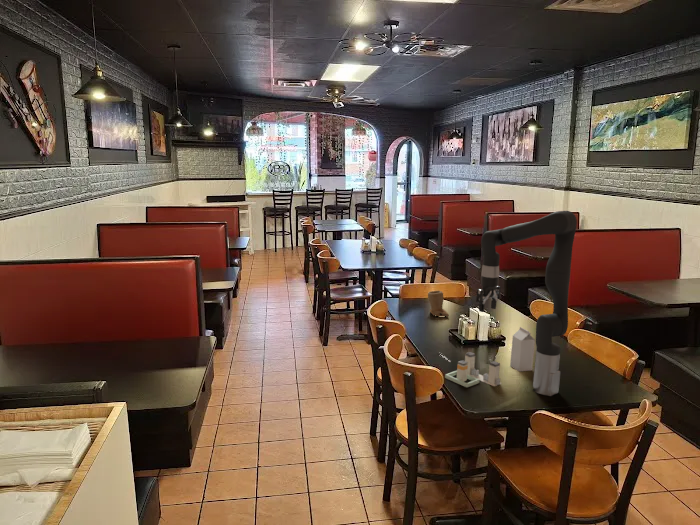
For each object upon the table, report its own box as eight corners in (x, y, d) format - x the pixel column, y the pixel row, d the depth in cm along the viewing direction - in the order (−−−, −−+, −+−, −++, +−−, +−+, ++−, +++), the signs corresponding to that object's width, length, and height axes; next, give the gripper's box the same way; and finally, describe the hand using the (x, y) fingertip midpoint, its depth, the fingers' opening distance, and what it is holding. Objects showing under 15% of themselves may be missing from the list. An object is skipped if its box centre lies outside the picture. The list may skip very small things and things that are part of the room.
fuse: (466, 382, 219) (467, 362, 218) (461, 383, 218) (463, 363, 216) (461, 379, 222) (462, 360, 220) (456, 381, 220) (457, 361, 218)
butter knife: (441, 351, 256) (435, 352, 255) (470, 373, 231) (464, 373, 230) (441, 352, 256) (435, 353, 255) (470, 374, 231) (464, 375, 230)
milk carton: (518, 371, 233) (522, 332, 230) (509, 366, 240) (513, 327, 237) (532, 370, 235) (535, 331, 232) (523, 364, 242) (526, 326, 238)
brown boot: (425, 311, 326) (426, 288, 323) (443, 311, 327) (445, 288, 324) (429, 318, 311) (431, 294, 309) (449, 318, 312) (450, 294, 309)
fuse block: (501, 386, 217) (503, 363, 215) (494, 389, 214) (496, 366, 212) (467, 372, 232) (469, 350, 230) (460, 375, 229) (461, 352, 226)
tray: (478, 386, 218) (479, 379, 217) (466, 390, 213) (467, 384, 212) (457, 376, 227) (457, 370, 226) (444, 380, 222) (445, 374, 221)
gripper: (487, 278, 221) (484, 314, 224) (506, 274, 229) (504, 309, 232) (473, 275, 226) (470, 310, 230) (493, 271, 235) (490, 305, 238)
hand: (487, 310), depth 231 cm, fingers open, 8 cm apart
